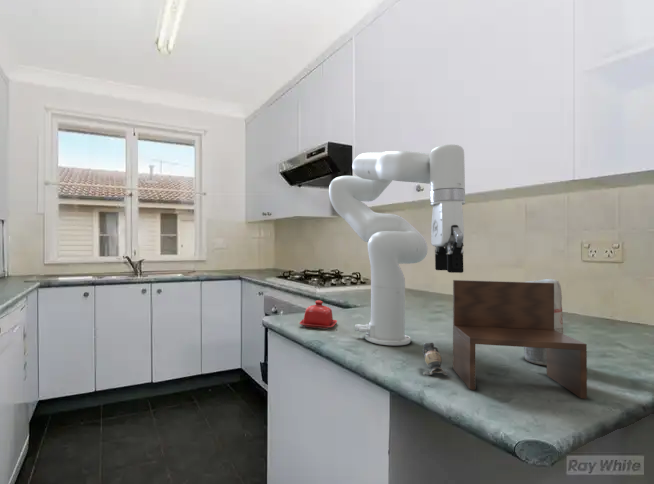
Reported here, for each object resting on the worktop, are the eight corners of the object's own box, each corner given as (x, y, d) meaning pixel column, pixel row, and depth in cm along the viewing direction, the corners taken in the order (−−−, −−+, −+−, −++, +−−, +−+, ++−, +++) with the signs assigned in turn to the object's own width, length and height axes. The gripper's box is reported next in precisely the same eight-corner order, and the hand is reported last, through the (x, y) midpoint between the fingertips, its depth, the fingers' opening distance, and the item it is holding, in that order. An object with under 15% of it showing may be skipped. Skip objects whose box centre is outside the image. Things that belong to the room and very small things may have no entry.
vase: (416, 366, 85) (417, 340, 85) (442, 368, 84) (442, 341, 84) (422, 375, 80) (422, 346, 80) (448, 376, 79) (449, 348, 79)
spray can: (546, 369, 84) (546, 280, 85) (514, 358, 92) (514, 277, 93) (574, 366, 87) (573, 280, 87) (540, 355, 95) (540, 276, 95)
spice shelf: (469, 389, 72) (470, 286, 72) (452, 368, 84) (453, 279, 84) (587, 398, 68) (586, 289, 69) (551, 375, 80) (551, 282, 81)
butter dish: (338, 323, 129) (338, 298, 129) (332, 331, 118) (333, 304, 118) (305, 321, 133) (306, 297, 133) (297, 328, 122) (298, 301, 122)
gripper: (422, 203, 97) (422, 269, 96) (441, 193, 80) (442, 273, 79) (452, 203, 96) (453, 269, 95) (478, 192, 79) (480, 273, 78)
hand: (448, 271), depth 87 cm, fingers open, 9 cm apart
